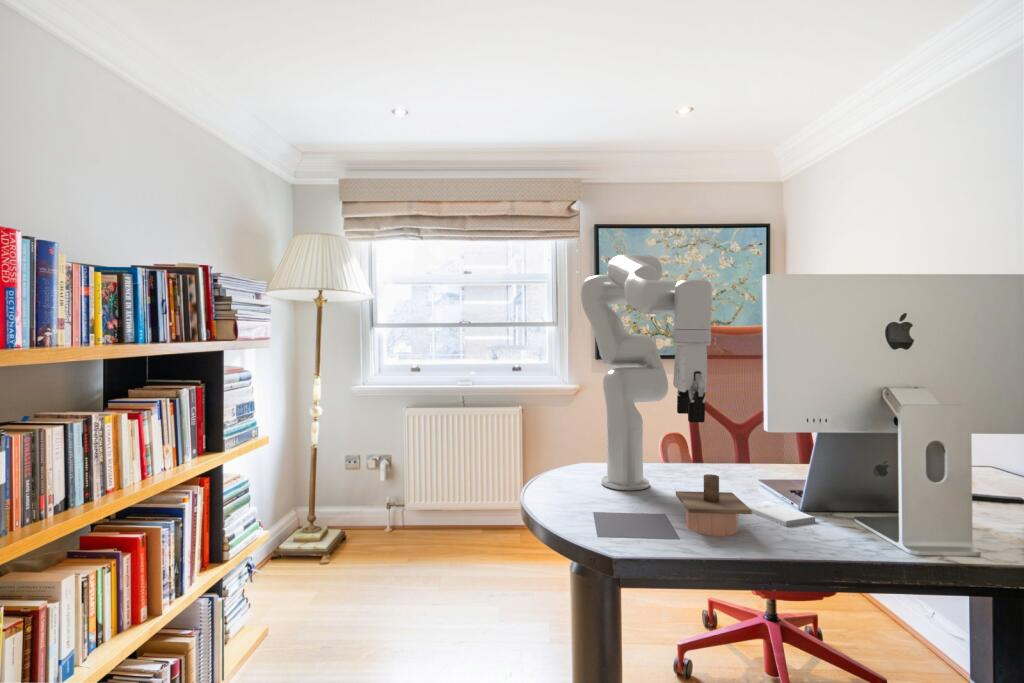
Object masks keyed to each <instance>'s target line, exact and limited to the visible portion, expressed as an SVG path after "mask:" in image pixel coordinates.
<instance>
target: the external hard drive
mask: <svg viewBox="0 0 1024 683" xmlns="http://www.w3.org/2000/svg"><path fill="white" fill-rule="evenodd" d="M744 504H745V505H746V506H748V507H749V508H750V509H751V510H752V514H755V515H756V514H757V515H756V516H759V517H761V516H762V518H764V519H766V518H767V519H766V520H769V519H770V521H771V520H772V522H773V521H775V522H774V523H776V522H777V523H776V524H778V523H780V524H779V525H781V524H782V525H781V526H783V525H784V526H783V527H791V526H790V525H793V526H797V525H796V524H799V525H805V523H806V524H811V522H812V523H816V517H815V516H814V515H813V516H812V515H810V514H807V513H804V512H801V511H799V510H795V509H794V508H793V509H792V508H790V507H787V506H784V505H782V504H779V503H776V502H773V501H770V500H765V501H758V502H749V503H748V502H747V503H744Z"/></svg>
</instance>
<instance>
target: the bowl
mask: <svg viewBox="0 0 1024 683" xmlns="http://www.w3.org/2000/svg"><path fill="white" fill-rule="evenodd" d="M739 516H740V514H718V513H688V511H687V510H686V509H685V526H687V528H688V530H691V531H692V532H696V533H697V534H701V535H702V534H703V535H707V536H711V537H715V536H716V537H729V536H733V535H736V534H737V533H738V532H739V530H740V527H739V526H740V519H739V518H740V517H739Z"/></svg>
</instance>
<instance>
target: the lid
mask: <svg viewBox="0 0 1024 683" xmlns="http://www.w3.org/2000/svg"><path fill="white" fill-rule="evenodd" d="M675 496H676V498H677V499H678V500H679V502H680V504H682V506H683V507H684V508H685V511H686V510H687V511H688V513H718V514H739V515H752V514H753V513H752V510H751V509H750V508H749V507H748V506H746V505H745V504H746V503H745V502H743V501H742V500H741V499H740V498H739V497H738V496H737V495H736V494H734V493H733V492H726V491H720V476H719V475H717V474H710V473H709V474H703V491H684V490H683V491H677V490H676V491H675Z"/></svg>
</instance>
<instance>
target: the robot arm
mask: <svg viewBox="0 0 1024 683" xmlns="http://www.w3.org/2000/svg"><path fill="white" fill-rule="evenodd" d="M606 273H607V274H596V275H592V276H589V277H587V278H586V279H585V280H583V282H582V285H581V289H580V298H581V299H580V300H581V304H582V309H583V311H584V314H585V316H586V317H587V320H588V321H589V323H590V325H591V327H592V330H593V333H594V334H593V335H594V336H595V341H596V345H597V347H598V352H599V355H600V359H601V361H602V363H603V364H604V365H605V366H606V367H610V368H612V369H609V370H608V371H607V372H606V373H605V374H604V376H603V380H602V386H603V393H604V394H603V395H604V399H605V405H606V406H605V408H606V449H607V450H606V460H607V462H606V467H607V468H606V469H607V470H606V471H607V472H606V474H607V475H605V476H603V477H602V478H601V484H602V485H603V486H604V487H606V488H608V489H613V490H617V491H618V490H619V491H620V490H621V491H640V490H645V489H647V488H649V486H650V481H649V480H648V479H647V478H645V477H644V424H643V423H644V421H643V417H642V415H641V413H640V411H639V410H638V408H637V406H635V404H636V403H637V404H638V403H652V402H653V403H654V402H659V401H662V400H664V399H665V398H666V397H667V395H668V392H669V380H668V375H667V372H666V370H665V367H664V363H663V360H662V358H661V355H660V352H659V349H658V346H657V344H656V342H655V341H654V339H653V338H652V337H651V336H650V335H647V334H643V333H629V332H627V331H626V330H625V326H624V324H623V320H622V319H621V317H620V315H619V314H618V313H617V312H616V311H614V310H613V309H612V308H611V307H610V306H609V305H629V306H630V308H633V309H634V310H636V311H638V312H639V313H642V314H645V315H673V345H676V348H675V351H674V352H675V354H674V367H673V380H672V381H673V383H672V384H673V387H674V388H675V389H677V395H676V396H677V398H676V399H677V400H676V402H677V403H676V404H677V405H676V409H677V410H676V413H677V414H679V415H680V414H685V415H687V414H688V415H687V421H688V422H689V423H702V424H703V423H704V422H705V420H706V416H705V414H706V391H707V386H708V385H707V384H708V352H707V346H711V342H712V339H711V338H712V300H713V299H712V298H713V297H712V296H713V294H712V293H713V287H712V284H711V282H710V281H709V280H706V279H682V280H677V281H676V280H661V278H662V275H663V266H662V264H661V262H660V260H659V259H658V258H657V257H656V256H653V255H648V254H647V255H645V254H620V255H616V256H614V257H612V259H611V260H609V262H608V263H607V267H606Z"/></svg>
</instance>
